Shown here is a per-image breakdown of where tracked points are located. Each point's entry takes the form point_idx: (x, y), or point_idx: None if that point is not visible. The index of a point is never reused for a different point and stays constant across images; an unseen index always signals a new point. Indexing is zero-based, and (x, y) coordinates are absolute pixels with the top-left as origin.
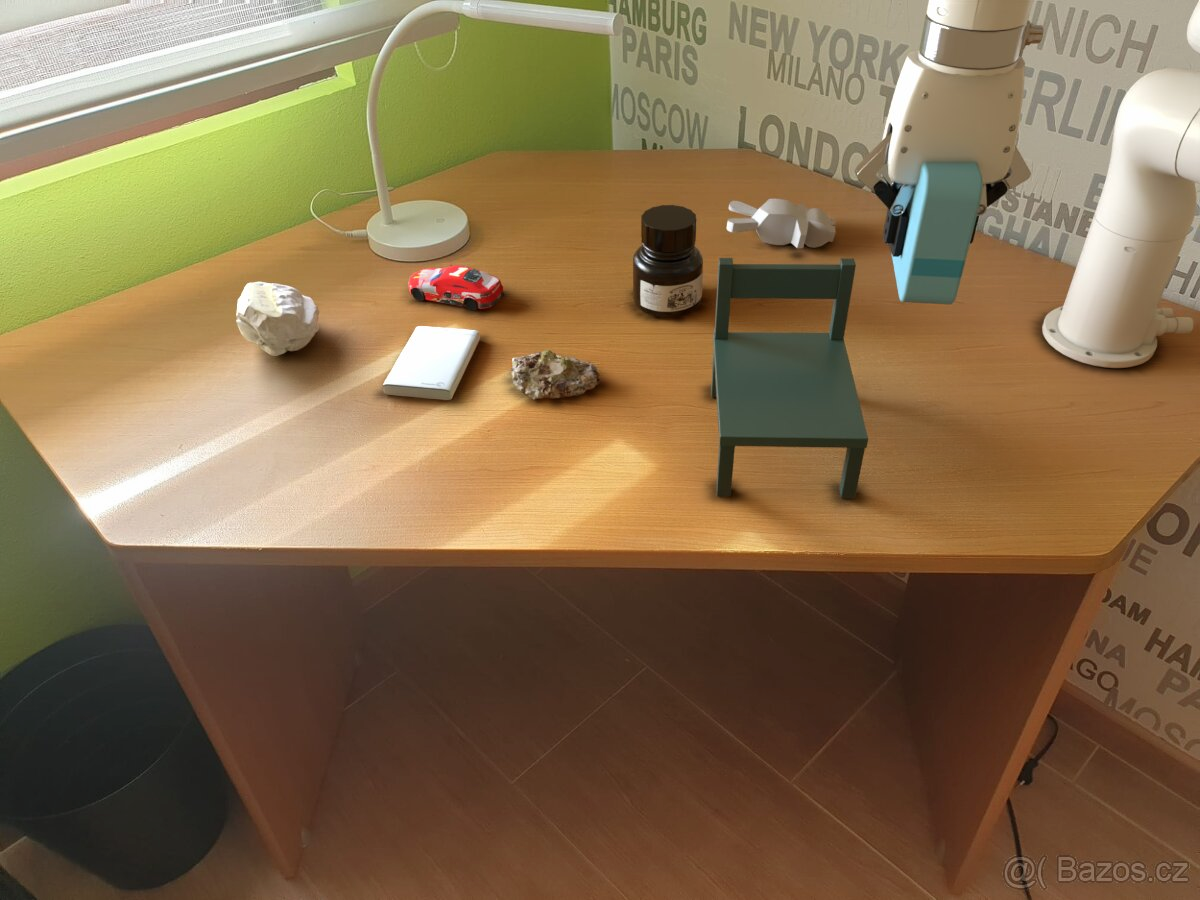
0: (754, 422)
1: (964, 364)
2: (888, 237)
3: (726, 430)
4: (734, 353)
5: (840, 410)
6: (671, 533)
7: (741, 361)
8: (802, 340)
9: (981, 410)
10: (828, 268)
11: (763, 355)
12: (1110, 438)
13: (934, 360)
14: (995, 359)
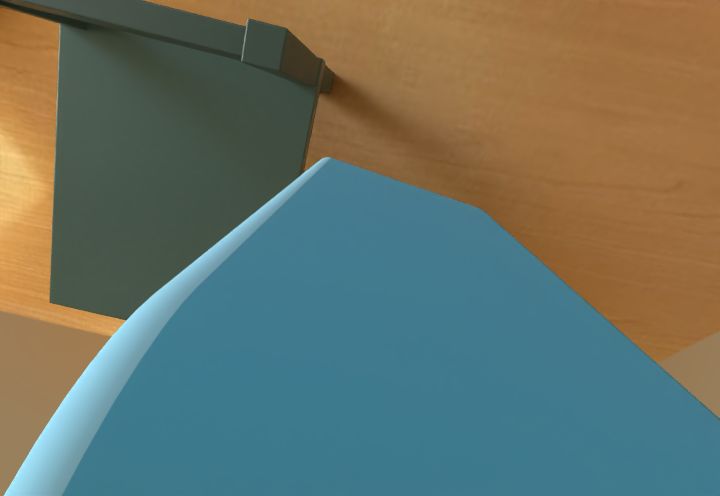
0: (104, 284)
1: (585, 44)
2: None
3: (59, 292)
4: (94, 85)
5: None
6: (61, 307)
7: (105, 114)
8: (235, 69)
9: (538, 170)
10: (211, 45)
11: (149, 104)
12: (672, 266)
13: (542, 20)
14: (646, 41)
